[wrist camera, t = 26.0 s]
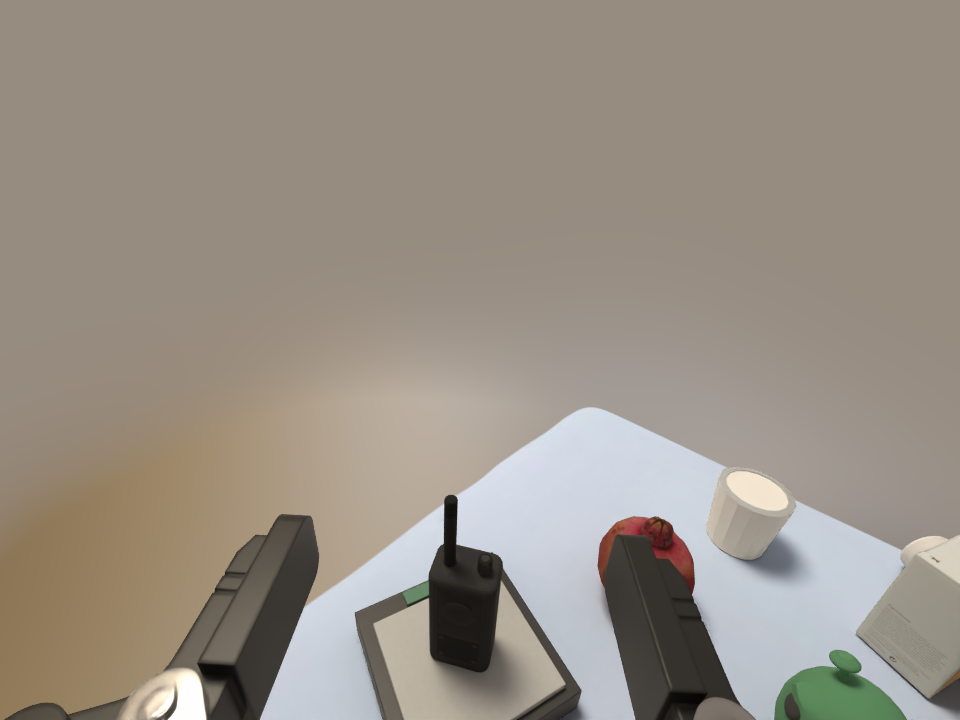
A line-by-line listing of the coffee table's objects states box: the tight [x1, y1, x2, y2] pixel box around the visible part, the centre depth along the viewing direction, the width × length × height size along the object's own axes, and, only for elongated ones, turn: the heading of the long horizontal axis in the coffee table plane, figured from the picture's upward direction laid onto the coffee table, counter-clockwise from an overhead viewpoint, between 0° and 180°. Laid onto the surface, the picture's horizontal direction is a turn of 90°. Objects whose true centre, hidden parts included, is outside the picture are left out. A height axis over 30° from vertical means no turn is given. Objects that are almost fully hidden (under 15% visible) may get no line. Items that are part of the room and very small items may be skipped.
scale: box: [355, 552, 582, 720], centre depth 34 cm, size 13×13×3 cm
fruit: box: [598, 516, 695, 594], centre depth 38 cm, size 8×8×10 cm
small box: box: [856, 535, 960, 699], centre depth 35 cm, size 8×6×10 cm
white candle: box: [706, 467, 796, 560], centre depth 46 cm, size 7×7×7 cm
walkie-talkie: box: [429, 495, 503, 673], centre depth 30 cm, size 5×3×15 cm
